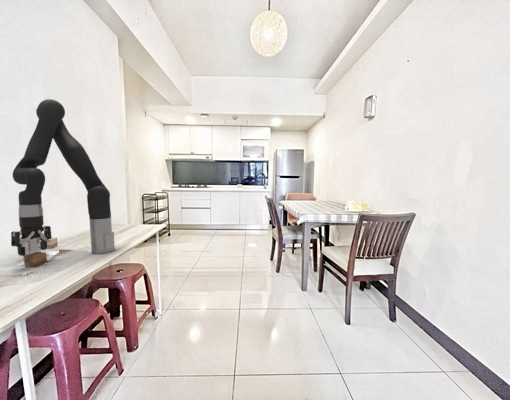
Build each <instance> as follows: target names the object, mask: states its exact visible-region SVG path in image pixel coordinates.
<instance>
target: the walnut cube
mask: <svg viewBox="0 0 510 400" xmlns="http://www.w3.org/2000/svg"><path fill="white" fill-rule="evenodd" d="M46 254H47V252H46V251H43V252H42V251H41V252H35V253H31V254H28V255H25V256H24V258H23V261H24V263H23V264H24V268H35V267H36V268H38V267H40V265H41V266H43V264H44V265H46V264H45V263H47V264H48V258H47V256H48V255H46Z"/></svg>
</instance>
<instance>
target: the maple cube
mask: <svg viewBox="0 0 510 400" xmlns="http://www.w3.org/2000/svg"><path fill="white" fill-rule="evenodd" d="M40 242H41V240H40ZM58 245H59V244H58V237H52V238H51V239H49V240H48V241H47V248H46V250H52V249H55V248H57V247H58Z"/></svg>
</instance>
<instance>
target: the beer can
mask: <svg viewBox="0 0 510 400" xmlns="http://www.w3.org/2000/svg"><path fill="white" fill-rule="evenodd" d="M21 236H22V235H21ZM21 236H20V237H21ZM24 239H25V238H24ZM24 247H25V255H28V254H31V253H35V252H42V250H41V248H40V240H39V239H38V238H34V239H30V240H29V241H28V242H27V243H26V244H25V246H24ZM25 255H24V256H25ZM24 256H22V258H23V259H24Z"/></svg>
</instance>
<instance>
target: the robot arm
mask: <svg viewBox="0 0 510 400" xmlns="http://www.w3.org/2000/svg"><path fill="white" fill-rule="evenodd" d="M35 113H36V116H37V119H38V121H37V124H36V126H35V129H34V131H33V134H32V136H31V137H30V139H29V142H28V144H27V147H26V148H25V149H26V150H25V152H24V155H23V157H22V158H21V159H20V161H19V162H18V163H17V164H16V166H15V168H14V169H13V171H12V179H13V181H14V182H15V183H16V184H18V185H25V189H24V190H22V191H20V192H19V193H18V225H19V227H20V229H19V230H20V231H11V234H10V235H11V236H10V241H11V243H10V245H11V247H17V254H18V256H21V257H23V256H24V255H25V247H24V246H25V244H26V243H27V242H28V241H29V240H30V239H34V238H38V239H39V240H41V242H40V248H41V251H46V250H47V249H46V248H47V241H48V240H49V239H51V238H53V237H52V230H51V226H50V225H44V223H45V222H44V208H43V204H42V203H43V202H42V194H43V191H44V190H43V189H44V187H45V183H46V175H45V173H44V171H43V170H42V169H40V168H38V167H39V166H43V165H45V163H46V161H47V159H48V155H49V152H50V149H51V146H52V142H53V141H54V142H55V145H56V146H57V148H58V150H59V152H60V153H61V155H62V157H63V158H64V160H65V162H66V163H67V164H68V167H70V169H71V170H72V172H74V174H75V175H76V176H77V177H78V178H79V179H80V180H81V182H82V184H83V185H84V187H85V189H86V192H87V193H86V195H87V196H86V199H87V202H86V203H87V211H88V215H89V216H88V217H89V233H90V234H89V235H90V249H91V250H90V251H91V254H94V255H95V254H99V255H100V254H107V253H110V252H113V251H115V250H116V249H115V248H116V247H115V246H116V244H115V232H114V231H112V230H113V228H112V211H111V199H110V198H111V192H110V190H109V189H108V188H107V187H106V186H105V184H104V183H103V181H102V180H101V179H100V177H99V175H98V173H97V171H96V169H95V166H94V165H93V162H92V161H91V158H90V156H89V155H88V153H87V152H86V150H85V147H84V146H83V145H82V144H81V143H80V142H79V141H78V140H77V139H76V138H75V137H74V136H73V135H72V134H71V133H70V132H69V130H68V128H67V127H66V124H65V122H64V120H63V119H64V117H65V116H66V111H65V108H64V106H63V104H61V102H59V101H57V100H55V99H51V98H48V99H43V100H42V101H41V102H39V104H38V106H37V108H36V109H35ZM21 235H22V236H21ZM24 238H25V239H24Z"/></svg>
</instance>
